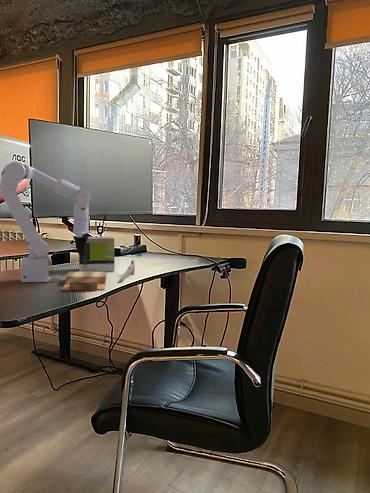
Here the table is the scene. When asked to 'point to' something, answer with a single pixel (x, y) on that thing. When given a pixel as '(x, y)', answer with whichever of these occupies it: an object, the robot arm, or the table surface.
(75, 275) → the birch deck
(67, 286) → the terracotta mat
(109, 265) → the tea box
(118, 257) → the table surface
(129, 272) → the caliper
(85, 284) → the walnut tile
